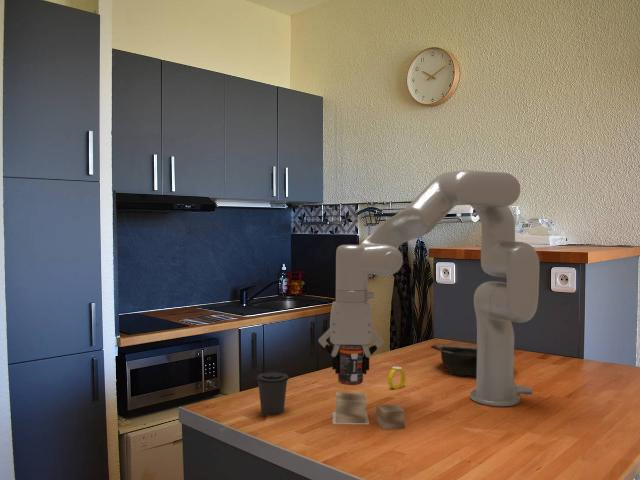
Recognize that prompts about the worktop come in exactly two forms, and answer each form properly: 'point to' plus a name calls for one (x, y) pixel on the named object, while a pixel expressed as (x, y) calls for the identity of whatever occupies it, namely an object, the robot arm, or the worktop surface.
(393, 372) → the watch
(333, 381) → the worktop surface
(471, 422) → the worktop surface
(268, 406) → the coffee cup
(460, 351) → the black cooking pot
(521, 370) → the worktop surface
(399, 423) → the oak block
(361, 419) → the maple block
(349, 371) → the supplement bottle
